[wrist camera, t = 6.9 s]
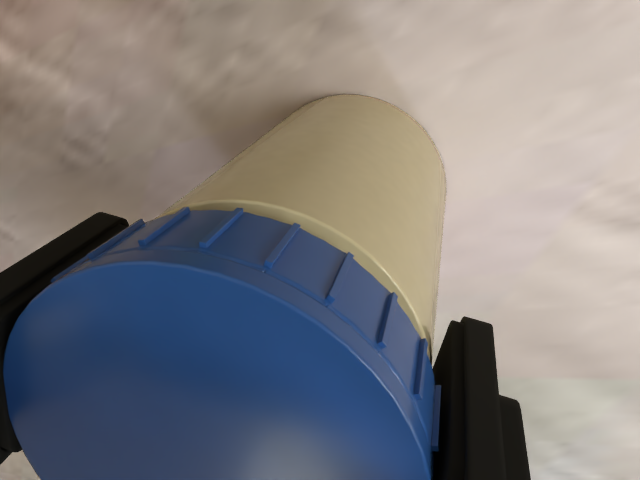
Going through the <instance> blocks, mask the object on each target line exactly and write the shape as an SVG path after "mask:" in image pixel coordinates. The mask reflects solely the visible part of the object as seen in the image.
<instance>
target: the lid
mask: <svg viewBox="0 0 640 480" xmlns="http://www.w3.org/2000/svg"><path fill="white" fill-rule="evenodd" d="M300 226H301V225H299V224H297V223H294V224H293V225H291V224H287V223H284V222H280V221H277V220H274V219H271V218H268V217H263V216H258V215H255V214H251V213H248V212H243V208H236V209H235V210H234V211H223V210H191V211H190V209H189V207H183V208H182V209H180V210H179V211H177V212H176V213H175V214H170V215H165V216H162V217H159V218H157V219H154V220H151V221H148V222H146V223H144V221H143V220H142V219H140V220H138V221H136V222H135V223H133V224H132V225H130V226H129V227H127V228H126V229H124V230H123V231H121V232H120V233H118V234H117V235H115V236H114V237H112V238H111V239H109V240H108V241H106V242H105V243H103V244H102V245H100V246H99V247H97V248H96V249H94V250H93V251H91V252H90V253H88V254H87V255H86V256H85V257H83V258H82V259H80V260H79V261H77V262H76V263H74V264H73V265H71V266H70V267H68V268H67V269H65V270H64V271H62V272H61V273H59V274H58V275H56V276H55V277H53V278H52V279H51V282H52V283H51V284H50V285H48V286H47V287H46V288H45V289H44V290H42V291H41V292H40V293H39V294H38V295H37V296H35V297H34V298H33V299H32V300H31V301H30V303H29V304H28V305H27V306H26V308H25V309H24V310H23V311H22V313H21V314H20V315H19V317H18V319H17V321H16V323H15V325H14V327H13V329H12V331H11V333H10V335H9V338H8V342H7V345H6V349H5V353H4V360H3V377H4V385H5V392H6V399H7V405H8V412H9V417H10V421H11V424H12V427H13V430H14V432H15V435H16V437H17V439H18V441H19V443H20V446H21V448H22V450H23V452H24V454H25V456H26V457H27V459H28V461H29V462H30V464H31V465H32V467H33V469H34V470H35V472H36V474H37V475H38V476H39V478H40V479H41V480H433V478H434V465H435V451H439V434H440V415H441V396H442V388H441V385H436V382H435V378H434V374H433V369H432V365H431V362H430V360H429V357H428V355H427V348H428V342H427V340H426V338H423V339H421V337H420V335H419V334H418V332H417V331H416V329H415V328H414V326H413V324H412V322H411V321H410V319H409V317H408V316H407V314H406V313H405V312H404V311H403V309H402V308H401V307H400V305H399V304H398V302H397V299H398V296H397V295H396V293H395V292H392V293H391V292H390V291H388V290H387V289H386V288H385V287H384V286H383V285H382V284H381V283H380V282H379V281H378V280H377V279H376V278H375V277H374V276H373V275H372V274H371V273H369V272H368V271H367V270H366V269H364V268H363V267H362V266H361V265H360V264H359V263H358V262H357V261H355V260H354V259H353V258H354V255H353V254H351V253H350V252H348V253H345V252H343V251H341V250H339V249H338V248H336V247H334V246H332V245H331V244H329V243H328V242H326V241H324V240H323V239H320V238H318V237H316V236H314V235H312V234H311V233H309V232H307V231H305V230H303V229H301V228H300Z"/></svg>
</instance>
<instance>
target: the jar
mask: <svg viewBox="0 0 640 480" xmlns="http://www.w3.org/2000/svg"><path fill="white" fill-rule="evenodd" d="M445 201H446V177H445V172H444V166H443V163H442V161H441V158H440V155H439V153H438V151H437V149H436V147H435V145H434V143H433V141H432V140H431V138H430V137H429V135H428V134H427V133H426V131H425V130H424V129H423V128H422V127H421V126H420V125H419V124H418V123H417V122H416V121H415V120H414V119H413V118H411V117H410V116H409V115H408V114H407V113H405V112H403V111H402V110H400V109H399V108H397V107H396V106H393V105H391V104H389V103H387V102H385V101H382V100H379V99H376V98H372V97H368V96H362V95H346V94H344V95H335V96H329V97H325V98H321V99H318V100H316V101H313V102H311V103H308V104H306V105H305V106H303V107H301V108H300V109H298V110H296V111H295V112H294V113H293V114H291V115H290V116H289V117H287V118H286V119H285V120H283V121H282V122H281V123H279V124H278V125H277V126H276V127H274V128H273V129H272V130H270V131H269V132H268V133H266V134H265V135H264V136H262V137H261V138H260V139H258V140H257V141H256V142H255V143H253V144H252V145H251V146H249V147H248V148H247V149H245V150H244V151H243V152H241V153H240V154H239V155H238V156H236V157H235V158H234V159H232V160H231V161H230V162H228V163H227V164H226V165H224V166H223V167H222V168H221V169H219V170H218V171H217V172H215V173H214V174H213V175H211V176H210V177H209V178H207V179H206V180H205V181H204V182H202V183H201V184H200V185H198V186H197V187H196V188H194V189H193V190H192V191H190V192H189V193H188V194H186V195H185V196H184V197H183V198H181V199H180V200H179V201H177V202H176V203H175V204H173V205H172V206H171V207H169V208H168V209H167V210H166V211H164V212H163V213H162V214H160V215H159V216H158V217H156V218H155V219H157V218H159V217H162V216H165V215H170V214H175V213H176V212H177V211H179V210H180V209H182V208H183V207H189V209H190V211H191V210H223V211H234V210H235V209H236V208H243V212H248V213H251V214H255V215H258V216H263V217H268V218H271V219H274V220H277V221H280V222H284V223H287V224H291V225H293V224H294V223H297V224H299V225H301V226H300V228H301V229H303V230H305V231H307V232H309V233H311V234H312V235H314V236H316V237H318V238H320V239H323V240H324V241H326V242H328V243H329V244H331V245H332V246H334V247H336V248H338V249H339V250H341V251H343V252H345V253H348V252H350V253H351V254H353V255H354V258H353V259H354V260H355V261H357V262H358V263H359V264H360V265H361V266H362V267H363V268H364V269H366V270H367V271H368V272H369V273H371V274H372V275H373V276H374V277H375V278H376V279H377V280H378V281H379V282H380V283H381V284H382V285H383V286H384V287H385V288H386V289H387V290H388V291H390V292H391V293H392V292H395V293H396V295H397V296H398V299H397V302H398V304H399V305H400V307H401V308H402V309H403V311H404V312H405V313H406V314H407V316H408V317H409V319H410V321H411V322H412V324H413V326H414V328H415V329H416V331H417V332H418V334H419V335H420V337H421V339H423V338H426V340H427V342H428V348H427V355H428V357H429V360H430V362H431V365H432V354H433V343H434V331H435V319H436V307H437V295H438V283H439V272H440V260H441V248H442V236H443V224H444V213H445Z"/></svg>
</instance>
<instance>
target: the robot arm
mask: <svg viewBox="0 0 640 480" xmlns="http://www.w3.org/2000/svg"><path fill="white" fill-rule="evenodd" d="M127 227H129V224H128V222H127V220H126V219H124V218H121V217H117V216H114V215H110V214H107V213H103V212H99V213H96V214H94V215H93V216H91V217H90V218H88V219H86V220H85V221H83V222H82V223H80V224H78V225H77V226H75V227H73V228H72V229H70V230H69V231H67V232H65V233H64V234H62V235H61V236H59V237H57V238H56V239H54V240H52V241H51V242H49V243H48V244H46V245H44V246H43V247H41V248H40V249H38V250H36V251H35V252H33V253H32V254H30V255H28V256H27V257H25V258H23V259H22V260H20V261H19V262H17V263H15V264H14V265H12V266H11V267H9V268H7V269H6V270H4V271H2V272H1V273H0V464H1V463H2V462H3V461H4V460H5V459H6V458H7V457H8V456H9V455H10V454H11V453H12V452H19V451H21V450H22V448H21V446H20V443H19V441H18V439H17V437H16V435H15V432H14V430H13V427H12V424H11V421H10V417H9V412H8V405H7V399H6V392H5V385H4V377H3V360H4V353H5V349H6V345H7V342H8V338H9V335H10V333H11V331H12V329H13V327H14V325H15V323H16V321H17V319H18V317H19V315H20V314H21V313H22V311H23V310H24V309H25V308H26V306H27V305H28V304H29V303H30V301H31V300H32V299H33V298H34V297H35V296H37V295H38V294H39V293H40V292H41V291H42V290H44V289H45V288H46V287H47V286H48V285H50V284H51V283H52V282H51V279H52V278H53V277H55V276H56V275H58V274H59V273H61V272H62V271H64V270H65V269H67V268H68V267H70V266H71V265H73V264H74V263H76V262H77V261H79V260H80V259H82V258H83V257H85V256H86V255H87V254H88V253H90V252H91V251H93V250H94V249H96V248H97V247H99V246H100V245H102V244H103V243H105V242H106V241H108V240H109V239H111V238H112V237H114V236H115V235H117V234H118V233H120V232H121V231H123V230H124V229H126V228H127ZM433 374H434V378H435V382H436V385H441V388H442V396H441V415H440V434H439V451H435V465H434V478H433V480H531V478H530V471H529V464H528V457H527V450H526V443H525V435H524V428H523V421H522V414H521V408H520V404H519V403H518V401H517V400H514V399H511V398H508V397H505V396H501V395H499V391H498V380H497V369H496V358H495V347H494V336H493V327H492V325H491V324H489V323H486V322H482V321H479V320H475V319H472V318H468V317H465V316H464V317H463V318H462V320H461V322H456V321H453V320H452V321H451V322H450V324H449V327H448V329H447V332H446V335H445V337H444V340H443V343H442V345H441V348H440V351H439V353H438V356H437V359H436V361H435V364H434V366H433Z"/></svg>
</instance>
